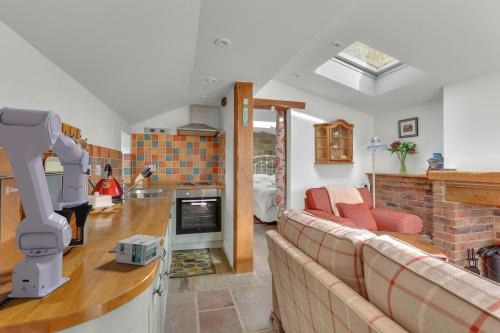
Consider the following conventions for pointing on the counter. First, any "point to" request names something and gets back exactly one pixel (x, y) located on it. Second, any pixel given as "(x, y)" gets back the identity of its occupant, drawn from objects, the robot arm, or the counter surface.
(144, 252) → the light bulb box
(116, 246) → the mat
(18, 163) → the robot arm
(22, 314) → the counter surface
